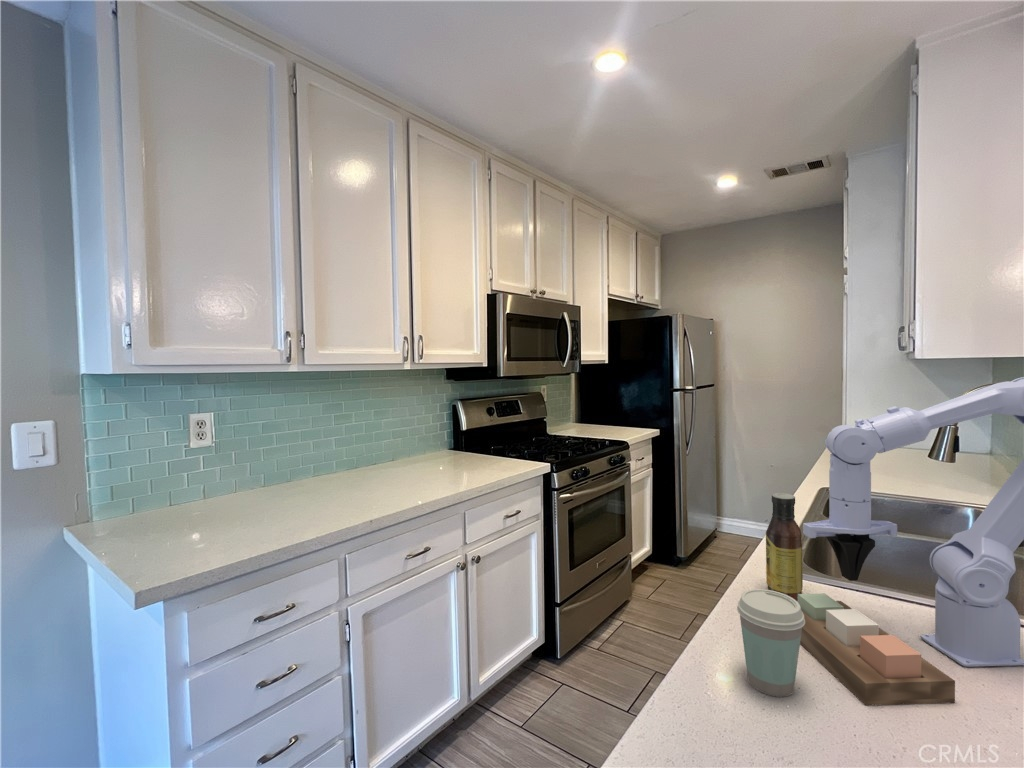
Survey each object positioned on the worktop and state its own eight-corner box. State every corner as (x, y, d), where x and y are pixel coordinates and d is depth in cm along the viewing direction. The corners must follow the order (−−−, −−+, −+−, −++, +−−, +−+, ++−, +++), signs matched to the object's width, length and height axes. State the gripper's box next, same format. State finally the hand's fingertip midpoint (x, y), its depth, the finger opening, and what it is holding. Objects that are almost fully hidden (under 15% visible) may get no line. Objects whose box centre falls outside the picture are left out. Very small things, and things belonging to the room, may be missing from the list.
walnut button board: (840, 617, 86) (840, 600, 86) (954, 702, 64) (955, 680, 64) (774, 619, 86) (773, 602, 86) (865, 705, 64) (865, 683, 64)
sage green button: (824, 615, 85) (824, 593, 85) (843, 630, 80) (843, 606, 80) (797, 616, 85) (797, 594, 85) (815, 631, 80) (815, 607, 80)
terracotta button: (892, 661, 70) (892, 634, 70) (921, 683, 65) (921, 654, 65) (860, 662, 70) (860, 635, 70) (885, 684, 65) (886, 655, 65)
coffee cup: (815, 707, 64) (815, 618, 64) (746, 700, 66) (746, 613, 65) (792, 667, 72) (791, 589, 72) (731, 662, 74) (730, 585, 74)
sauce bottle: (773, 584, 100) (772, 488, 99) (807, 594, 95) (807, 494, 94) (760, 594, 95) (760, 495, 95) (795, 605, 91) (795, 501, 90)
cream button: (855, 633, 78) (855, 608, 78) (878, 651, 73) (878, 624, 73) (825, 634, 78) (825, 609, 77) (846, 651, 73) (847, 625, 73)
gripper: (874, 490, 85) (874, 566, 85) (792, 492, 84) (792, 569, 85) (908, 501, 78) (907, 584, 78) (818, 504, 77) (818, 587, 78)
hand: (849, 578), depth 81 cm, fingers closed
